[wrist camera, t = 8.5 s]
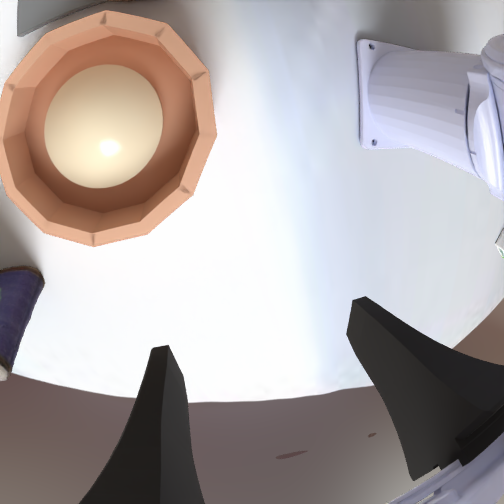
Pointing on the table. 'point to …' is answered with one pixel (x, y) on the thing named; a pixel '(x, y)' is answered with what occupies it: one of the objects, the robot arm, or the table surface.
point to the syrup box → (501, 243)
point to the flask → (16, 310)
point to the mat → (46, 12)
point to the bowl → (105, 128)
